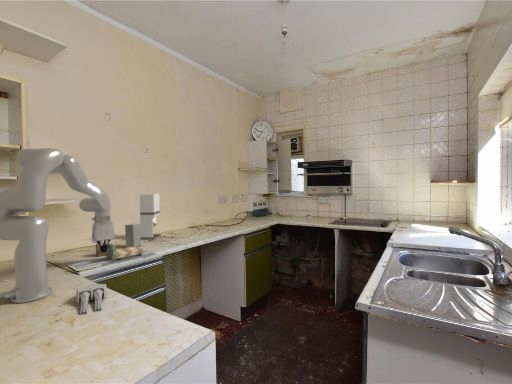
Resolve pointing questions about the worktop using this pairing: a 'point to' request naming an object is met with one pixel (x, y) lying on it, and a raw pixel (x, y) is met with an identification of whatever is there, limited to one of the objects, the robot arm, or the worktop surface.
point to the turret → (91, 296)
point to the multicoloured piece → (121, 252)
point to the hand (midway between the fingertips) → (103, 251)
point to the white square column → (149, 215)
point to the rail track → (110, 260)
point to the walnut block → (98, 252)
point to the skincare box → (133, 235)
